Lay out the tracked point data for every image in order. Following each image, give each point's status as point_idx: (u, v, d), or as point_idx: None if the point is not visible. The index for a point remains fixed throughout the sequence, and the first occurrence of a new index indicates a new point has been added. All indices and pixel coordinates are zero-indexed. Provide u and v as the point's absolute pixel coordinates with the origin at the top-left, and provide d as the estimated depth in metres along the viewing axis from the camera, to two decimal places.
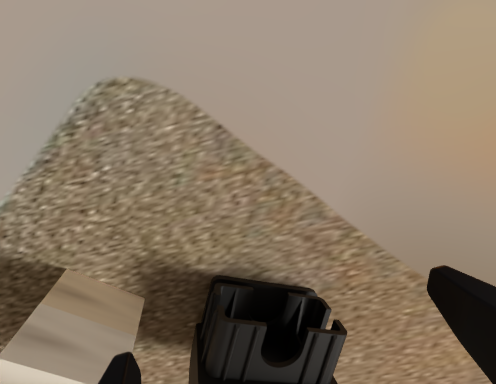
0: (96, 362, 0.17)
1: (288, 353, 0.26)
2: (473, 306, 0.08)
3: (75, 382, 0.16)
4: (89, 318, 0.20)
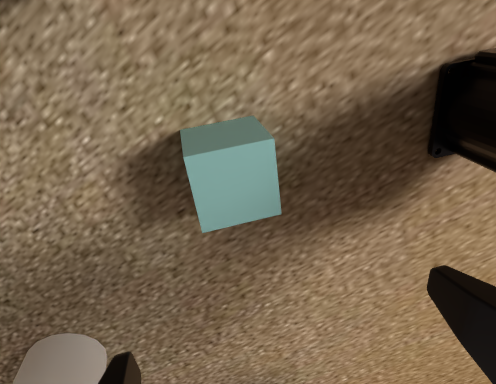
0: None
1: None
2: (473, 306, 0.08)
3: None
4: None
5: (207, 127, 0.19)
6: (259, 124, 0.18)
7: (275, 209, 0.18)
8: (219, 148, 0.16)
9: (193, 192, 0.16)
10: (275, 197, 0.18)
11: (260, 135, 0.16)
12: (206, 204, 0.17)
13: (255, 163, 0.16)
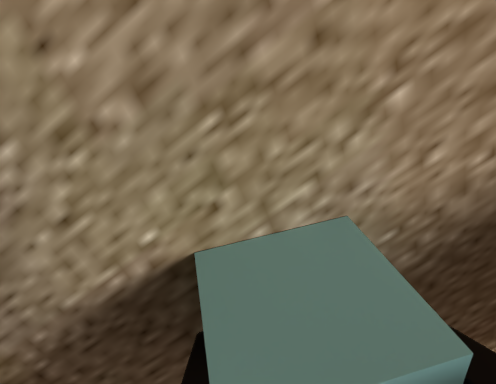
0: None
1: None
2: None
3: None
4: None
5: (256, 253, 0.08)
6: (383, 260, 0.08)
7: None
8: None
9: None
10: None
11: (419, 327, 0.06)
12: None
13: None
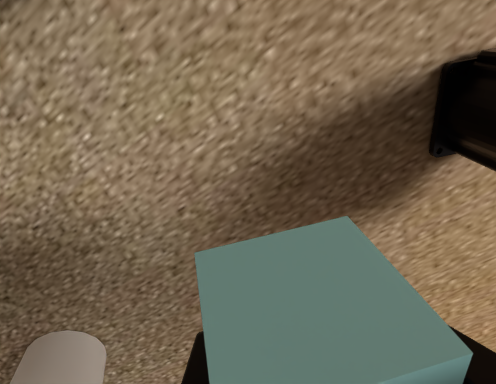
0: None
1: None
2: None
3: None
4: None
5: (256, 253, 0.08)
6: (383, 260, 0.08)
7: None
8: None
9: None
10: None
11: (419, 326, 0.06)
12: None
13: None
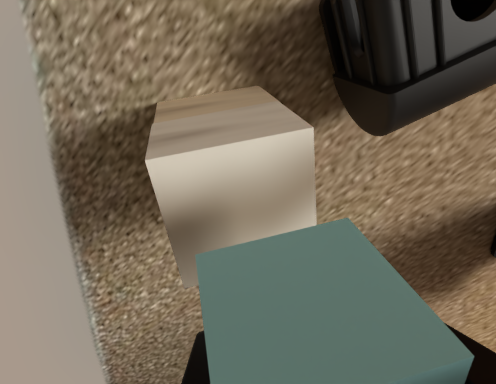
0: (257, 125, 0.13)
1: None
2: None
3: (250, 142, 0.11)
4: (215, 111, 0.15)
5: (257, 255, 0.08)
6: (384, 262, 0.08)
7: None
8: None
9: None
10: None
11: (420, 330, 0.06)
12: None
13: None
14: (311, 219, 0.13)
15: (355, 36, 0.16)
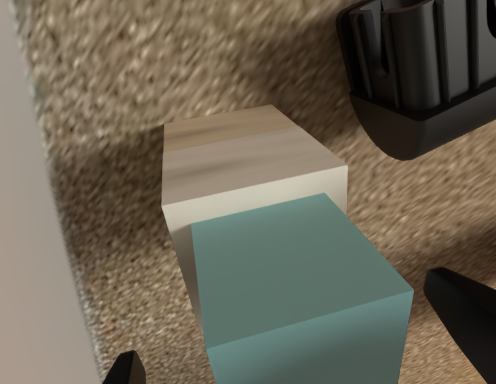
0: (282, 159, 0.11)
1: None
2: (469, 307, 0.08)
3: (278, 182, 0.10)
4: (229, 139, 0.14)
5: (244, 223, 0.10)
6: (351, 225, 0.09)
7: None
8: (288, 317, 0.07)
9: None
10: (389, 382, 0.08)
11: (374, 273, 0.07)
12: None
13: (364, 337, 0.07)
14: None
15: (377, 55, 0.15)
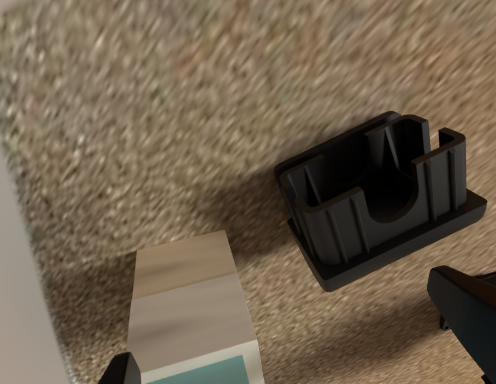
0: (215, 323, 0.16)
1: (399, 192, 0.22)
2: (473, 306, 0.08)
3: (207, 355, 0.14)
4: (184, 285, 0.18)
5: None
6: None
7: None
8: None
9: None
10: None
11: None
12: None
13: None
14: None
15: None
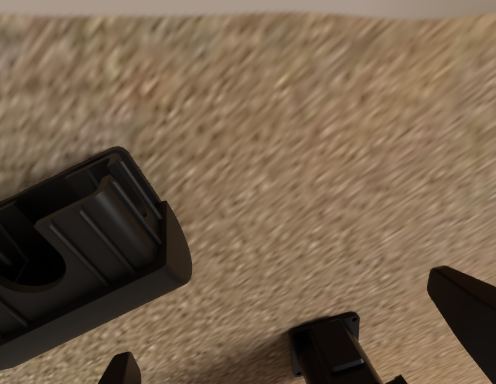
0: None
1: None
2: (473, 306, 0.08)
3: None
4: None
5: None
6: None
7: None
8: None
9: None
10: None
11: None
12: None
13: None
14: None
15: None
